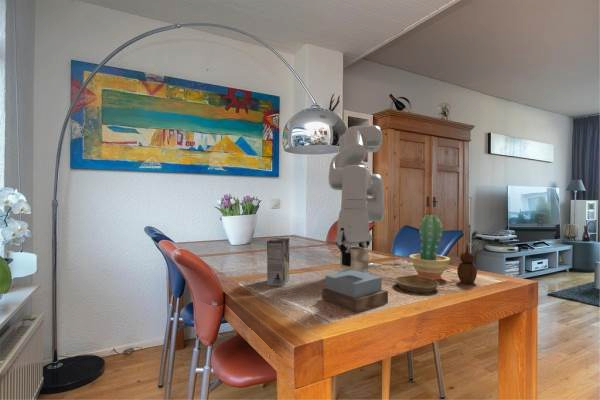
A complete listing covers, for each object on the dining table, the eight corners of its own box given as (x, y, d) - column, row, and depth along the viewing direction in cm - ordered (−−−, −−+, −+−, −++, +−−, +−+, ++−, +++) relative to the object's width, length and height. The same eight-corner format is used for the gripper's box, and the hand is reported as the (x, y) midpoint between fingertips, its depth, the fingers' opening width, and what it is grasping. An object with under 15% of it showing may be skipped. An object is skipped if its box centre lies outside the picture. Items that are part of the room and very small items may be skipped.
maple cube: (353, 264, 99) (354, 246, 99) (368, 268, 94) (368, 248, 94) (340, 267, 95) (340, 247, 95) (354, 270, 90) (354, 250, 90)
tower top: (351, 281, 103) (351, 269, 103) (381, 290, 94) (381, 277, 94) (325, 288, 96) (325, 275, 96) (354, 298, 86) (354, 284, 86)
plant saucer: (399, 280, 119) (399, 274, 119) (441, 286, 111) (441, 279, 111) (389, 290, 106) (389, 282, 106) (435, 297, 99) (435, 289, 99)
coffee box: (273, 278, 120) (273, 237, 120) (289, 279, 119) (289, 238, 119) (266, 285, 111) (266, 240, 111) (283, 286, 110) (283, 241, 110)
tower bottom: (353, 292, 104) (353, 281, 104) (387, 304, 93) (387, 291, 93) (322, 300, 96) (322, 288, 96) (355, 314, 85) (355, 300, 85)
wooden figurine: (470, 285, 112) (471, 244, 111) (454, 282, 116) (455, 242, 116) (479, 282, 116) (479, 242, 115) (463, 279, 120) (464, 241, 120)
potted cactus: (458, 278, 121) (459, 215, 121) (433, 284, 114) (433, 216, 113) (425, 270, 135) (425, 213, 134) (400, 275, 127) (400, 214, 127)
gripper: (364, 205, 103) (364, 259, 103) (324, 205, 93) (324, 265, 93) (382, 205, 97) (382, 263, 97) (342, 206, 86) (342, 270, 86)
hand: (354, 263), depth 95 cm, fingers closed on maple cube, 6 cm apart
